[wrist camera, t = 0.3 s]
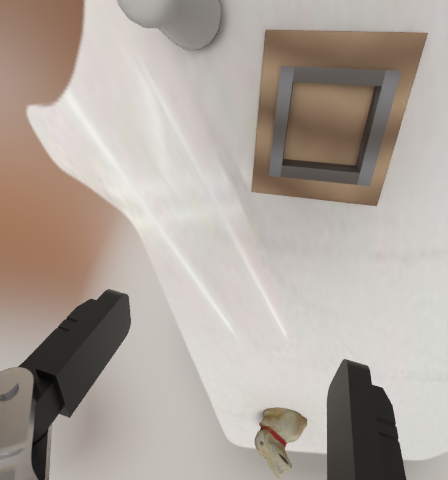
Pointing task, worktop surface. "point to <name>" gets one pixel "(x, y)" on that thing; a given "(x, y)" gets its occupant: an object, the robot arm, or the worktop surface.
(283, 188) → the socket board
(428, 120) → the worktop surface
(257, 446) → the chocolate bunny
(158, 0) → the salt shaker
